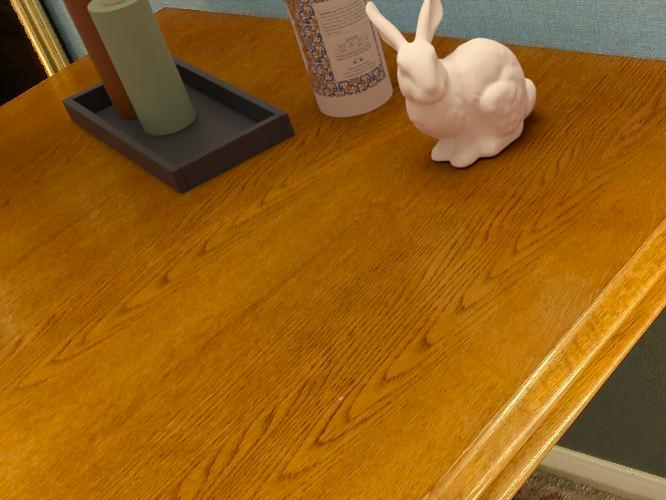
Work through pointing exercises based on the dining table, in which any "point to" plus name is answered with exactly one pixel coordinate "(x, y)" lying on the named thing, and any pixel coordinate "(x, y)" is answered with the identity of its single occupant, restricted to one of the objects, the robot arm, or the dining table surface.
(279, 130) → the tray
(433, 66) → the rabbit
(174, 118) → the sage bottle
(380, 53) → the bath foam
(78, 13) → the amber bottle
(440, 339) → the dining table surface
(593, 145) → the dining table surface
